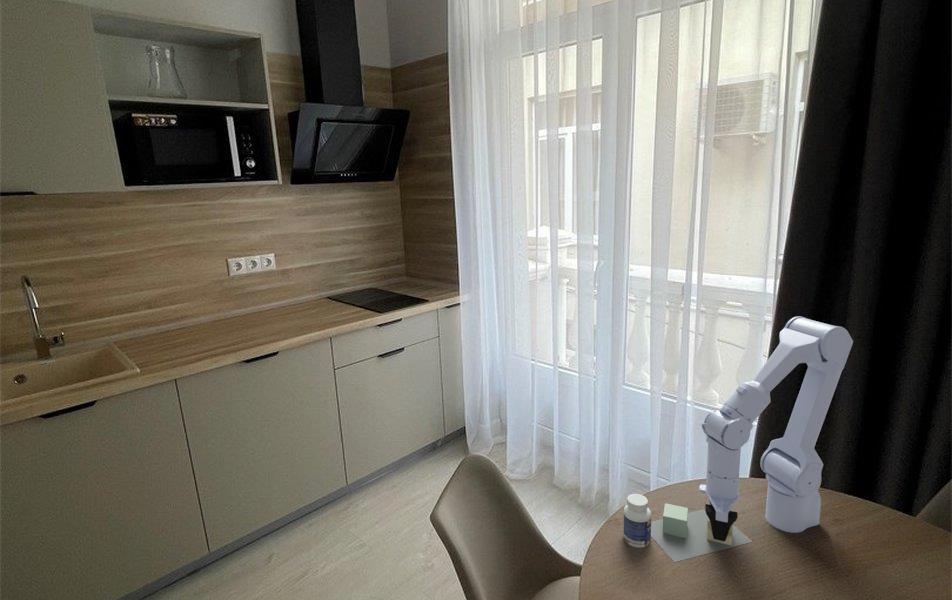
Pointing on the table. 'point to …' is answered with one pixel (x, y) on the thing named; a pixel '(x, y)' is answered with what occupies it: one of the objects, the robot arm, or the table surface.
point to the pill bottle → (637, 521)
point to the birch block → (710, 537)
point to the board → (692, 538)
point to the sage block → (675, 520)
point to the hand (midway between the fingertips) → (719, 531)
